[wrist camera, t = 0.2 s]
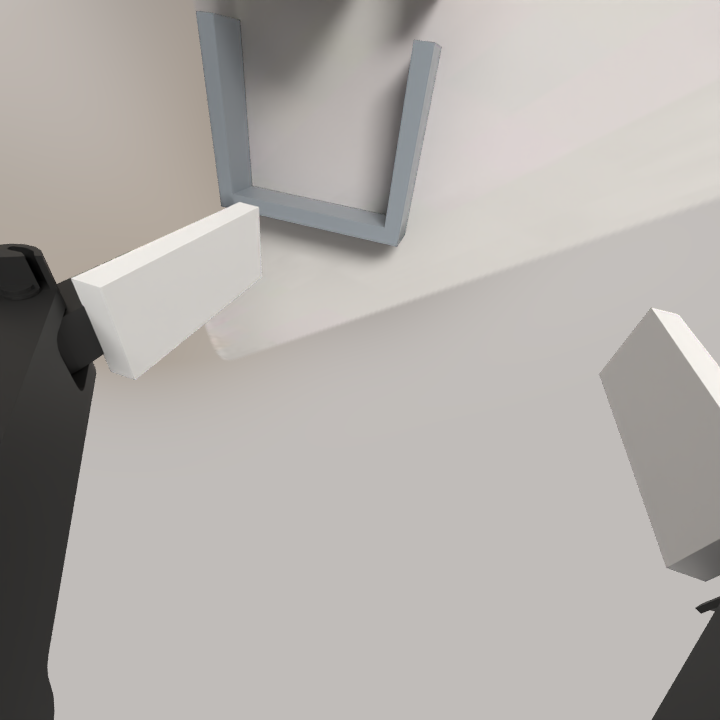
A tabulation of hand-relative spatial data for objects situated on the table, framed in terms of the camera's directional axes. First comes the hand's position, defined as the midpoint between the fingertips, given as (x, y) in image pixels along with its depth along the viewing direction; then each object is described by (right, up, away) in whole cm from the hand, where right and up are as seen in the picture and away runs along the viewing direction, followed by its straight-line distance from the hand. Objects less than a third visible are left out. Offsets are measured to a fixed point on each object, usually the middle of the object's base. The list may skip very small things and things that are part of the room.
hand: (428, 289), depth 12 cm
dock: (-6, +21, +23) cm, 32 cm away
